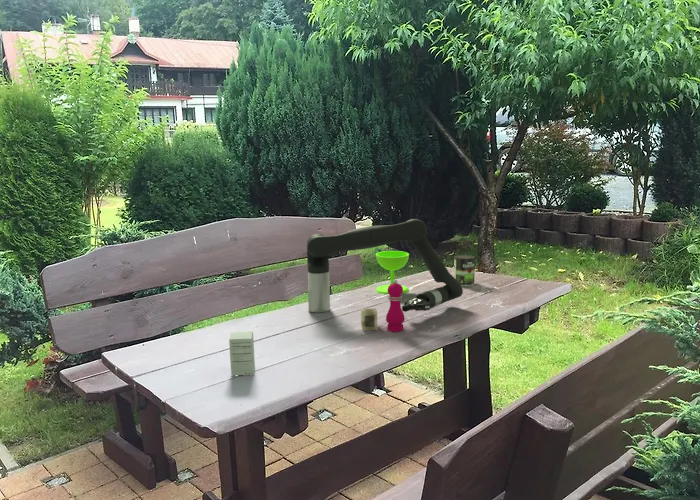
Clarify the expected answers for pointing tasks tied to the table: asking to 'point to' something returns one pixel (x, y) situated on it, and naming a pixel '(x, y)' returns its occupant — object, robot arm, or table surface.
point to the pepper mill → (395, 308)
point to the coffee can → (464, 269)
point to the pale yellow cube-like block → (369, 319)
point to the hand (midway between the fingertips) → (403, 309)
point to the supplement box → (242, 353)
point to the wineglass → (391, 266)
